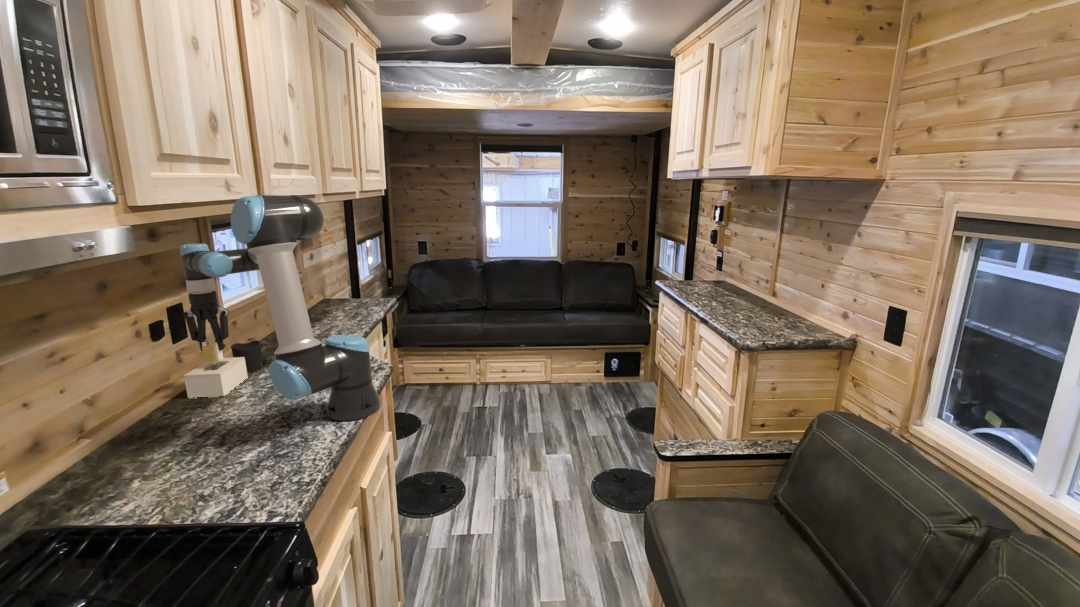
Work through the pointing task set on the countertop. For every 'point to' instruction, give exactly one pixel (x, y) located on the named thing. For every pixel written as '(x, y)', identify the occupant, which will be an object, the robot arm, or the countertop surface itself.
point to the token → (210, 353)
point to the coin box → (216, 378)
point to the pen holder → (249, 354)
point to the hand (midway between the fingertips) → (214, 359)
